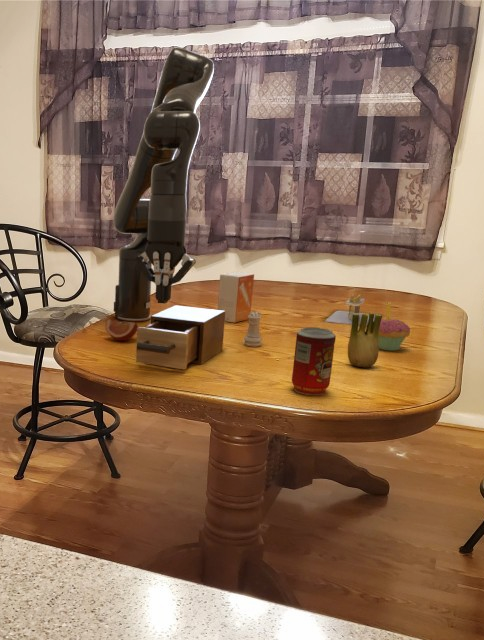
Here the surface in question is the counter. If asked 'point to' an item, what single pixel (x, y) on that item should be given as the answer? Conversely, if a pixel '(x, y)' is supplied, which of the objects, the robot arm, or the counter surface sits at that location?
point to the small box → (235, 295)
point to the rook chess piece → (253, 331)
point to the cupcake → (392, 332)
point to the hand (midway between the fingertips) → (162, 302)
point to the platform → (347, 316)
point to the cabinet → (209, 327)
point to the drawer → (168, 344)
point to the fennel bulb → (364, 340)
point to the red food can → (313, 360)
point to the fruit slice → (121, 329)
